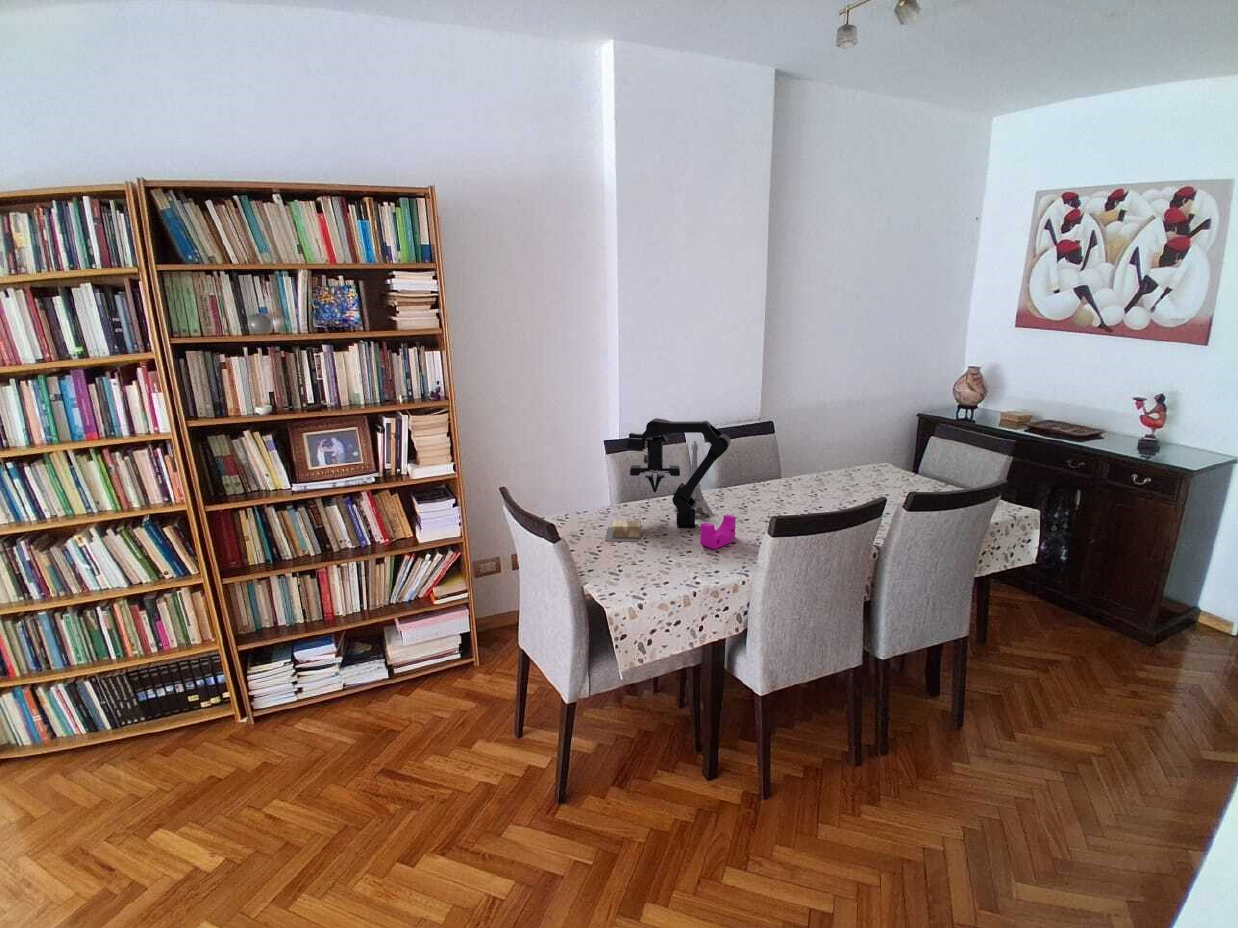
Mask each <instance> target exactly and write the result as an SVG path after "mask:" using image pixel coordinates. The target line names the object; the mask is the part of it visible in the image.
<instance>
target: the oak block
mask: <svg viewBox="0 0 1238 928" xmlns="http://www.w3.org/2000/svg"><path fill="white" fill-rule="evenodd" d="M612 527H613V537H639V538H641V537H642V521H641V520H613V524H612Z"/></svg>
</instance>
